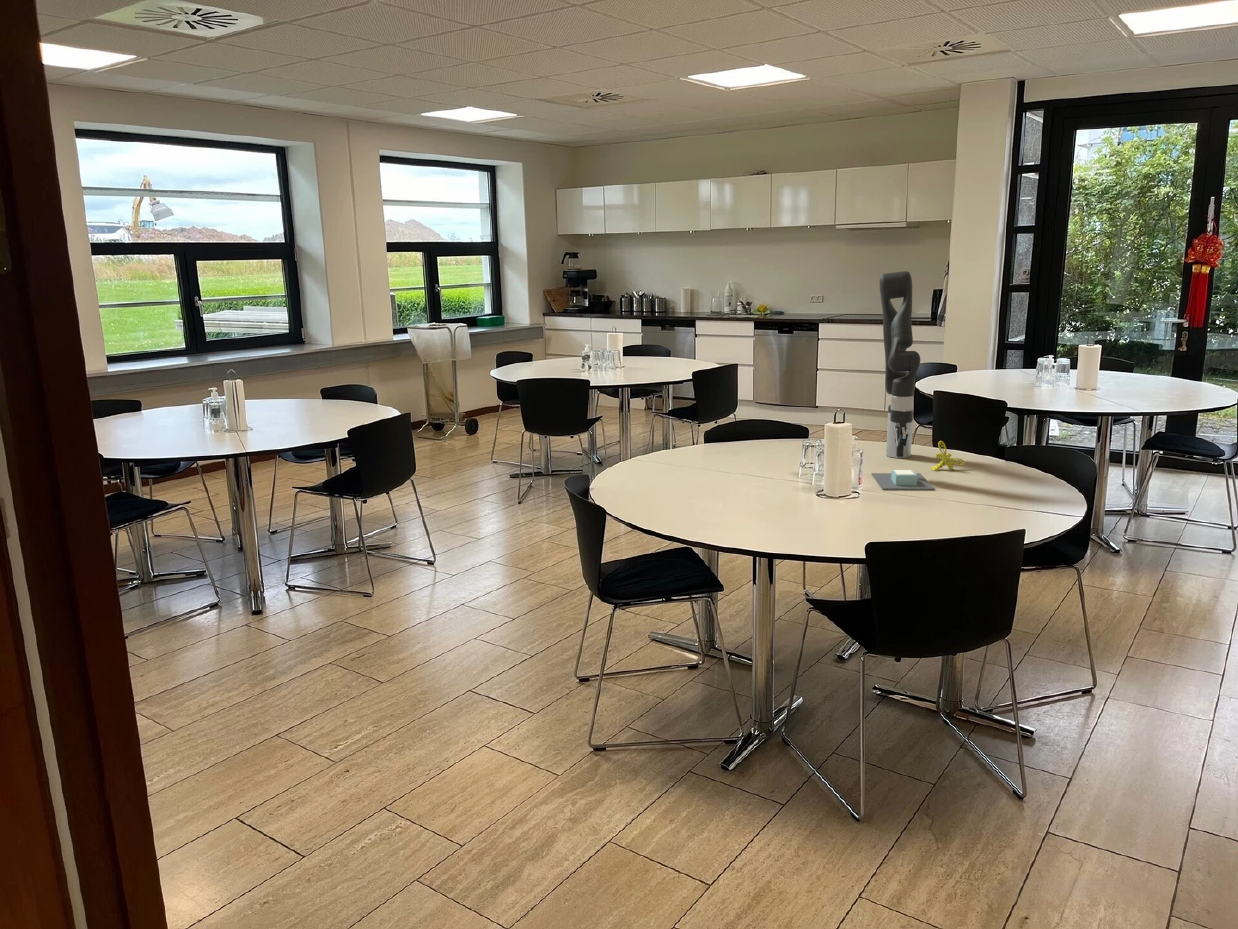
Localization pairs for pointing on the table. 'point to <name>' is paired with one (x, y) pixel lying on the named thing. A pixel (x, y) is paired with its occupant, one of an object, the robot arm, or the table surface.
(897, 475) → the pale blue block
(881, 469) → the table surface
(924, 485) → the mat
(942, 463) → the decorative insect
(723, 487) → the table surface
